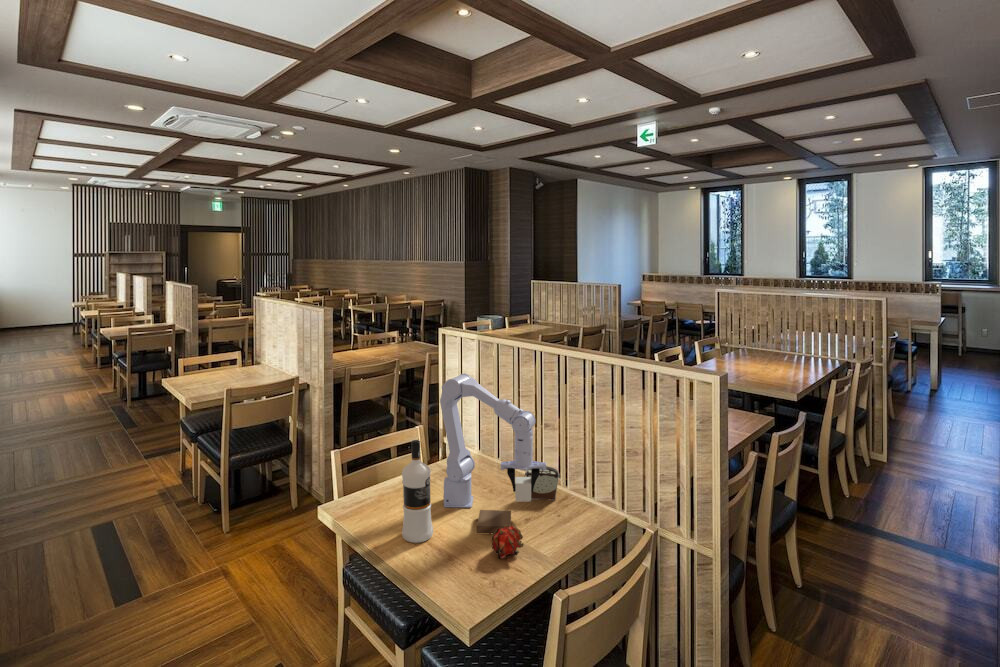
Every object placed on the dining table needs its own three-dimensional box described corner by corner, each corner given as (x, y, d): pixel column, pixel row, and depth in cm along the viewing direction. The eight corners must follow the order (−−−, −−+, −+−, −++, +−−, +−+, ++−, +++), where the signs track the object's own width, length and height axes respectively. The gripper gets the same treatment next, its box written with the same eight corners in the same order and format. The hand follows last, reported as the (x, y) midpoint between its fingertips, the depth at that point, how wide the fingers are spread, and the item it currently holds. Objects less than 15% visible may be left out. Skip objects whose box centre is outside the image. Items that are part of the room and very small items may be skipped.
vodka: (414, 525, 168) (412, 433, 164) (439, 532, 164) (437, 438, 159) (395, 539, 160) (393, 443, 156) (420, 547, 156) (418, 448, 151)
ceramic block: (515, 501, 171) (515, 483, 170) (515, 494, 176) (515, 476, 175) (531, 501, 171) (531, 483, 170) (530, 494, 176) (530, 477, 175)
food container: (559, 492, 191) (560, 465, 190) (559, 500, 185) (560, 473, 184) (524, 490, 192) (525, 464, 191) (524, 498, 186) (524, 471, 185)
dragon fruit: (518, 547, 159) (501, 575, 148) (496, 528, 160) (478, 553, 150) (533, 532, 155) (516, 558, 144) (510, 511, 156) (492, 537, 146)
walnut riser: (477, 534, 164) (477, 525, 163) (480, 518, 174) (480, 509, 173) (510, 535, 163) (510, 526, 163) (510, 519, 173) (511, 510, 173)
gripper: (500, 454, 167) (500, 495, 169) (547, 455, 167) (546, 496, 169) (500, 446, 174) (500, 486, 176) (545, 446, 174) (545, 486, 176)
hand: (523, 490), depth 173 cm, fingers closed on ceramic block, 5 cm apart
